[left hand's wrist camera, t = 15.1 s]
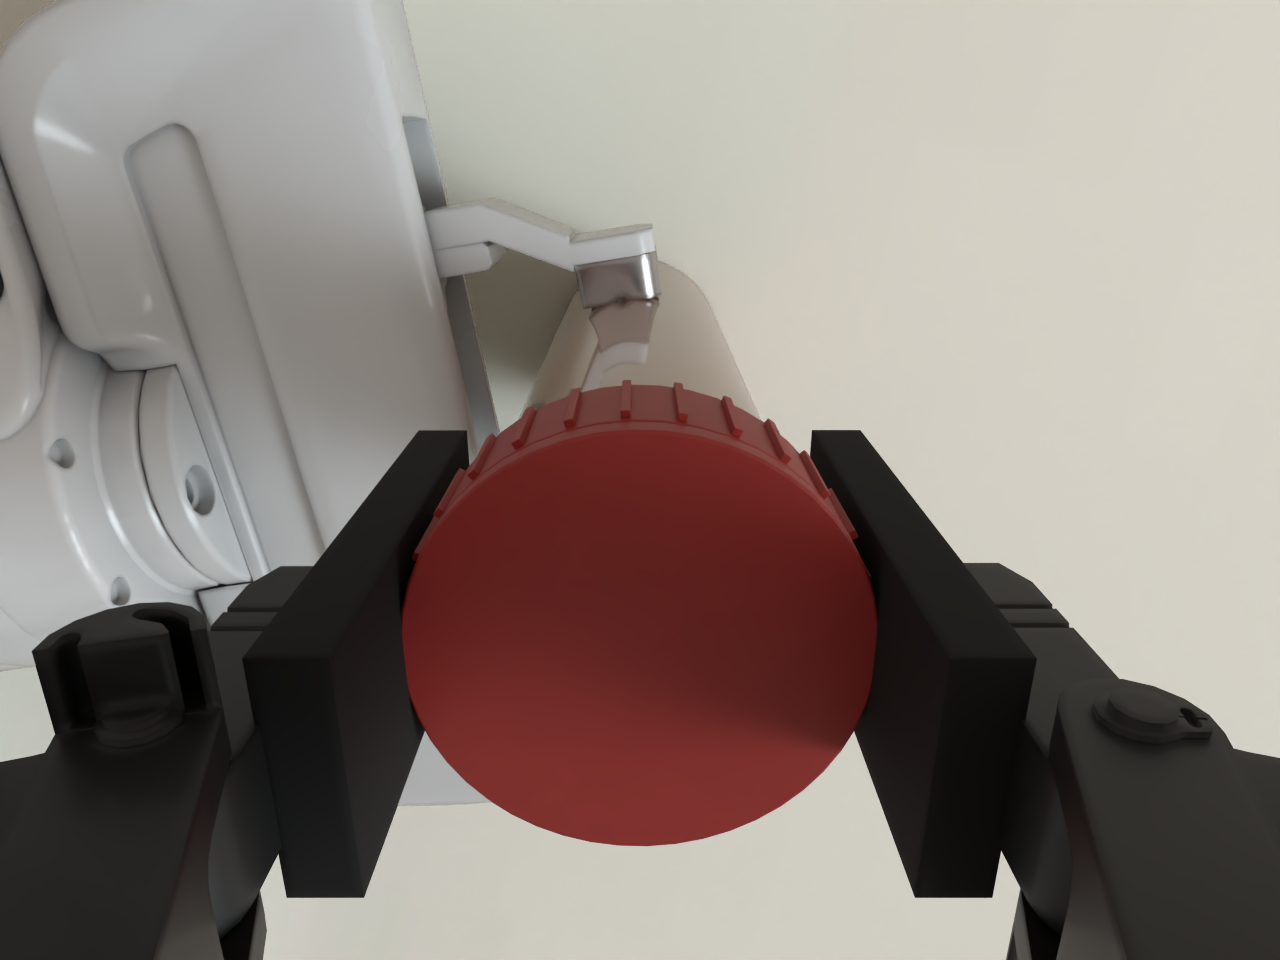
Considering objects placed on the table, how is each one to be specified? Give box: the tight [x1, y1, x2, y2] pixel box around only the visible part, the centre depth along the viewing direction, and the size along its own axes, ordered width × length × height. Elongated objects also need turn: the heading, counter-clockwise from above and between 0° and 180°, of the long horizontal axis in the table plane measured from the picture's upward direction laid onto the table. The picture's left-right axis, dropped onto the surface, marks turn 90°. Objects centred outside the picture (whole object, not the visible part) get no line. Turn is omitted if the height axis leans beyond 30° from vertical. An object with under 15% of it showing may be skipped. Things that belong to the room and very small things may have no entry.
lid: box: [401, 380, 878, 846], centre depth 11 cm, size 6×6×2 cm
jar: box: [517, 262, 761, 421], centre depth 19 cm, size 5×5×17 cm
